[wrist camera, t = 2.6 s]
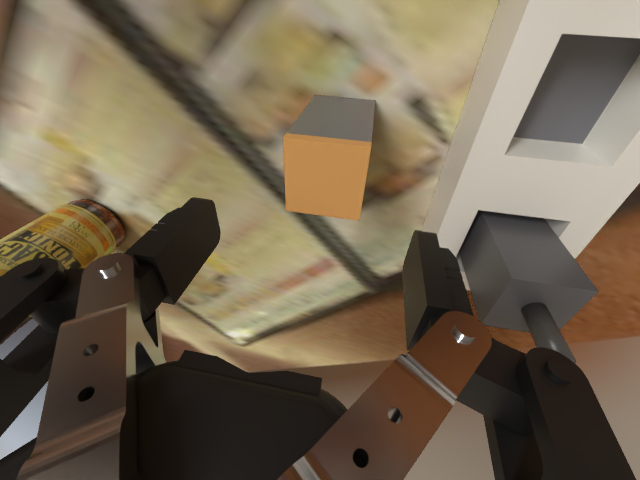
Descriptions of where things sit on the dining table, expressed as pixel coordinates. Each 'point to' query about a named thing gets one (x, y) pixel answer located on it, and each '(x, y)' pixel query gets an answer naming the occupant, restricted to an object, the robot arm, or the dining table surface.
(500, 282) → the white rectangular frame
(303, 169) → the plug
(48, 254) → the sauce bottle
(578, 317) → the dining table surface
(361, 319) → the dining table surface
